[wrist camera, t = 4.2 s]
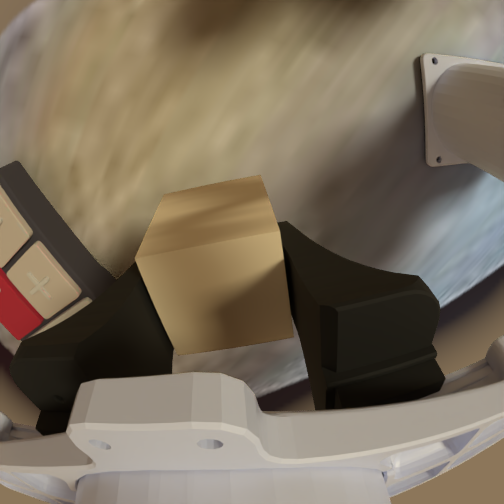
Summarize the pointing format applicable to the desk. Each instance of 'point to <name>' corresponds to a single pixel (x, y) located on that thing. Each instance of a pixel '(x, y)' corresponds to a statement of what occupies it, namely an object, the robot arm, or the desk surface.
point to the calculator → (40, 260)
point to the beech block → (217, 267)
